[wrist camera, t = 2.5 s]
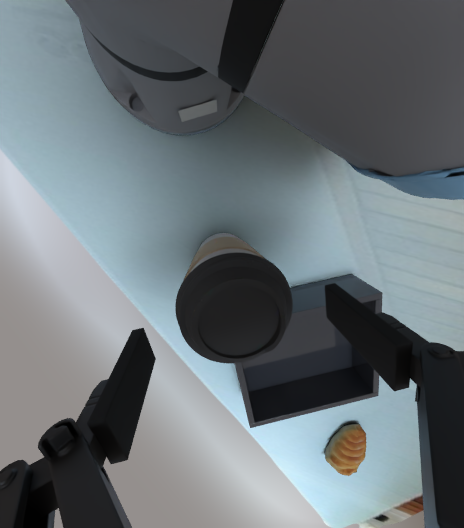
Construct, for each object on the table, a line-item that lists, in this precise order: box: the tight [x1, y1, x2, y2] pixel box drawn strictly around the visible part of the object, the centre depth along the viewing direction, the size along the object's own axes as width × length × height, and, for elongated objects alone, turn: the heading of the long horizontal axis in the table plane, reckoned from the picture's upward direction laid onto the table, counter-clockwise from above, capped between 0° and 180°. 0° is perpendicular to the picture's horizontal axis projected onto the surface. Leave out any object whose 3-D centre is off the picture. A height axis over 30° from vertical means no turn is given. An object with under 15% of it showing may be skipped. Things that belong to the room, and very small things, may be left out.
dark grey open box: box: [235, 274, 382, 428], centre depth 32 cm, size 17×19×6 cm
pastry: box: [325, 424, 366, 476], centre depth 42 cm, size 9×7×4 cm
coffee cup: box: [176, 233, 293, 363], centre depth 23 cm, size 9×9×15 cm
